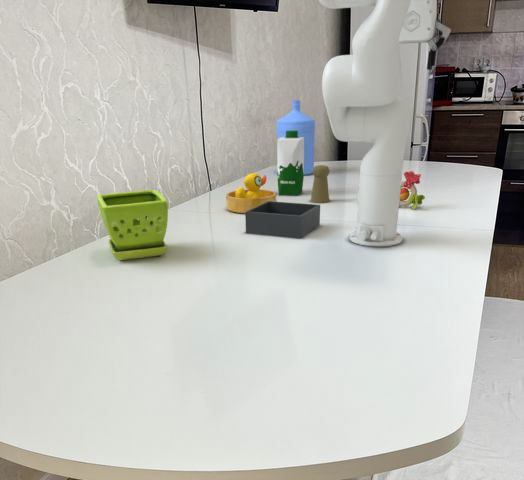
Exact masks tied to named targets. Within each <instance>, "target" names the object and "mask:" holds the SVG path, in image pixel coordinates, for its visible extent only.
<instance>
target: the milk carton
mask: <svg viewBox="0 0 524 480" xmlns="http://www.w3.org/2000/svg"><path fill="white" fill-rule="evenodd" d="M276 143H277V144H276V145H277V147H276V151H277V153H276V154H277V155H276V157H277V159H276V163H277V164H276V172H277V175H276V176H277V178H276V179H277V190H278V192H277V193H278V196H299V195H301V194H302V192H303V188H304V176H305V175H304V137H298V131H286V137H282V138H277V142H276Z"/></svg>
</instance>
